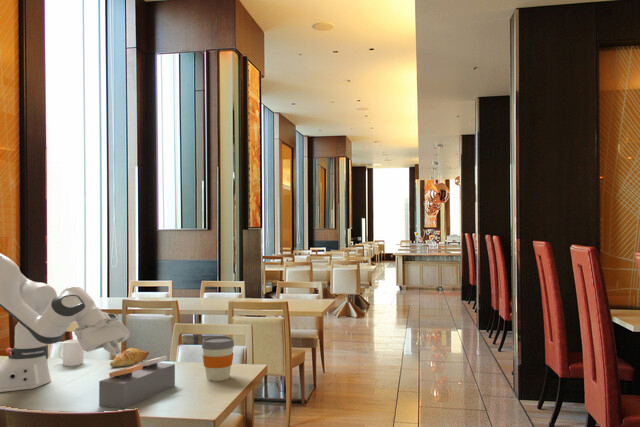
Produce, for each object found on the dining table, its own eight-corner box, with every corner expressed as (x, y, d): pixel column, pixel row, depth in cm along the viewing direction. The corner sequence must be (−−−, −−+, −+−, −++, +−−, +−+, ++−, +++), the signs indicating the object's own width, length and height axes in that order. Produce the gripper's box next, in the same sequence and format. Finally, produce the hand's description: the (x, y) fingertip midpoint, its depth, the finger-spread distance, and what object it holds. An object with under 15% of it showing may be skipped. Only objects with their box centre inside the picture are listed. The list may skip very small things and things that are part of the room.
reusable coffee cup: (201, 383, 202) (201, 343, 203) (202, 374, 214) (202, 337, 215) (234, 380, 205) (234, 341, 205) (233, 372, 217) (233, 335, 218)
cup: (73, 366, 230) (74, 343, 231) (51, 365, 234) (52, 342, 234) (87, 362, 238) (87, 339, 238) (66, 360, 242) (66, 338, 242)
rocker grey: (137, 367, 193) (136, 363, 194) (145, 364, 198) (145, 360, 198) (159, 362, 190) (158, 358, 191) (167, 359, 195) (166, 355, 195)
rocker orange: (109, 377, 180) (108, 372, 180) (119, 373, 185) (119, 369, 185) (133, 372, 177) (132, 367, 177) (142, 368, 182) (142, 364, 182)
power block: (99, 405, 176) (99, 377, 176) (152, 383, 202) (152, 359, 203) (123, 408, 172) (123, 380, 173) (174, 385, 199) (174, 361, 199)
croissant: (115, 377, 225) (121, 361, 224) (100, 364, 229) (106, 348, 228) (151, 365, 244) (157, 350, 243) (137, 353, 248) (143, 338, 247)
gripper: (77, 322, 177) (101, 354, 173) (119, 313, 196) (141, 341, 193) (66, 335, 178) (90, 366, 175) (109, 325, 197) (131, 353, 194)
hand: (117, 353), depth 184 cm, fingers closed
